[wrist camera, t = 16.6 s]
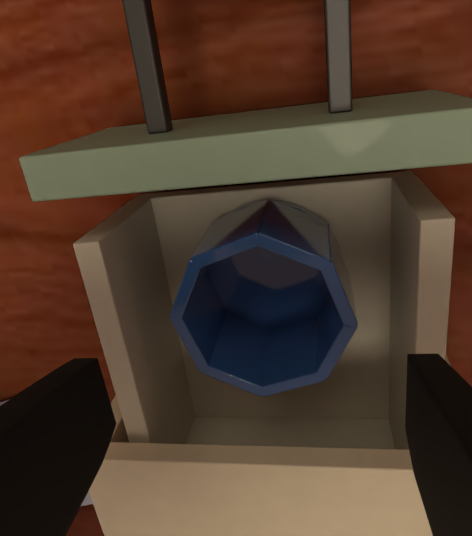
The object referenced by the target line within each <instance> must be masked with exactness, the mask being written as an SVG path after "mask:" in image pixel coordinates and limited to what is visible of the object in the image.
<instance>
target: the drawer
mask: <svg viewBox="0 0 472 536" xmlns="http://www.w3.org/2000/svg"><path fill="white" fill-rule="evenodd" d="M122 2H123V7H124V12H125V17H126V22H127V27H128V33H129V38H130V43H131V48H132V53H133V58H134V63H135V69H136V74H137V79H138V84H139V89H140V94H141V99H142V104H143V110H144V115H145V120H146V124H138V125H129V126H121V127H112V128H108V129H105V130H102V131H99V132H95V133H92V134H89V135H86V136H83V137H80V138H77V139H74V140H71V141H68V142H65V143H62V144H58V145H55V146H52V147H49V148H46V149H43V150H40V151H37V152H34V153H31V154H28V155H24V156H21V157H20V158H19V161H20V164H21V167H22V170H23V173H24V177H25V180H26V183H27V186H28V189H29V193H30V196H31V199H32V201H35V202H37V201H48V200H59V199H71V198H82V197H94V196H105V195H116V194H128V193H139V192H151V191H162V190H173V189H185V188H196V187H208V186H219V185H230V184H242V183H253V182H265V181H276V180H287V179H299V178H310V177H322V176H333V175H344V174H356V173H367V172H379V171H390V170H401V169H413V168H424V167H436V166H447V165H458V164H470V163H472V98H469V97H464V96H460V95H456V94H451V93H447V92H443V91H438V90H434V89H433V90H425V91H416V92H408V93H399V94H391V95H382V96H374V97H366V98H357V99H352V59H351V12H350V0H324V18H325V42H326V66H327V91H328V102H323V103H315V104H306V105H298V106H290V107H281V108H273V109H264V110H256V111H247V112H239V113H230V114H222V115H214V116H205V117H197V118H188V119H180V120H171V115H170V109H169V104H168V98H167V92H166V86H165V81H164V75H163V69H162V63H161V57H160V52H159V46H158V40H157V34H156V29H155V23H154V17H153V11H152V5H151V0H122ZM266 199H269V200H270V199H273V200H282V201H287V202H291V203H294V204H297V205H300V206H302V207H304V208H306V209H308V210H310V211H311V212H313V213H314V214H316V215H317V216H318V217H320V218H321V219H322V220H325V221H327V223H329V224H330V227H331V229H332V232H333V234H334V235H335V237H336V239H337V241H338V243H339V246H340V249H341V252H342V257H343V259H344V262H345V264H346V267H347V269H348V272H349V275H350V281H351V286H352V292H353V298H354V304H355V310H356V316H357V322H358V325H357V326H358V327H357V329H356V331H355V333H354V334H353V336H352V338H351V339H350V341H349V343H348V344H347V346H346V348H345V350H344V351H343V353H342V355H341V356H340V358H339V360H338V361H337V363H336V365H335V367H334V368H333V370H332V372H331V373H330V375H329V377H328V378H327V379H325V381H323V382H319V383H315V384H311V385H307V386H303V387H300V388H296V389H292V390H288V391H284V392H281V393H277V394H273V395H269V396H265V397H263V396H261V397H260V396H258V395H255V394H253V393H250V392H248V391H245V390H243V389H240V388H238V387H235V386H232V385H230V384H227V383H225V382H222V381H220V380H217V379H215V378H212V377H210V376H207V375H205V374H202V373H201V371H199V370H198V368H197V366H196V365H195V363H194V361H193V359H192V358H191V356H190V354H189V352H188V351H187V349H186V347H185V345H184V343H183V342H182V340H181V338H180V336H179V335H178V333H177V331H176V329H175V328H174V326H173V324H172V322H171V321H170V316H169V315H170V312H171V309H172V307H173V304H174V301H175V298H176V295H177V292H178V289H179V286H180V284H181V281H182V278H183V275H184V272H185V269H186V266H187V263H188V261H189V259H190V257H191V256H192V254H193V252H194V251H195V249H196V248H197V246H198V244H199V243H200V241H201V240H202V238H203V237H204V235H205V233H206V232H207V230H208V229H209V227H210V225H211V224H212V223H213V222H214V220H217V219H219V218H222V217H224V216H225V215H227V214H228V213H229V212H231V211H232V210H234V209H236V208H238V207H240V206H242V205H244V204H247V203H250V202H255V201H260V200H266ZM454 231H455V218H454V217H453V216H452V214H451V213H450V212H449V211H448V210H447V209H446V208H445V207H444V206H443V204H442V203H441V202H440V201H439V200H438V199H437V198H436V197H435V196H434V195H433V193H432V192H431V191H430V190H429V189H428V188H427V187H426V186H425V185H424V183H423V182H422V181H421V180H420V179H419V178H418V177H417V176H416V175H415V174H414V173H413V172H412V171H401V172H390V173H378V174H367V175H355V176H344V177H332V178H321V179H309V180H298V181H286V182H275V183H263V184H252V185H240V186H229V187H217V188H206V189H194V190H183V191H171V192H160V193H148V194H139V195H137V196H136V197H135V198H133V199H132V200H130V201H129V202H127V203H126V204H125V205H124V206H122V207H121V208H120V209H118V210H117V211H116V212H114V213H113V214H112V215H110V216H109V217H108V218H106V219H105V220H104V221H102V222H101V223H100V224H98V225H97V226H96V227H94V228H93V229H92V230H90V231H89V232H88V233H86V234H85V235H84V236H83V237H81V238H80V239H79V240H77V241H76V242H75V243H73V247H74V250H75V254H76V257H77V261H78V264H79V268H80V271H81V275H82V278H83V282H84V285H85V289H86V292H87V296H88V299H89V303H90V306H91V310H92V313H93V317H94V320H95V324H96V327H97V331H98V334H99V338H100V341H101V345H102V348H103V352H104V355H105V359H106V362H107V366H108V369H109V373H110V376H111V380H112V383H113V387H114V390H115V394H116V397H117V401H118V404H119V408H120V411H121V415H122V418H123V422H124V425H125V429H126V432H127V436H128V439H129V443H165V444H205V445H245V446H285V447H325V448H365V449H405V450H409V446H408V441H407V436H406V430H405V416H406V384H407V354H439V355H440V356H441V357H442V358H443V359H444V360H445V358H446V344H447V329H448V315H449V301H450V287H451V273H452V259H453V245H454Z"/></svg>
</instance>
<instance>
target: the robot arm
mask: <svg viewBox="0 0 472 536" xmlns="http://www.w3.org/2000/svg"><path fill="white" fill-rule="evenodd" d="M115 426H116V420H115V417H114V413H113V410H112V407H111V403H110V400H109V396H108V393H107V390H106V386H105V383H104V379H103V376H102V373H101V369H100V366H99V362H98V359H97V358H78V359H73V360H71V361H69V362H67V363H66V364H64V365H62V366H60V367H59V368H57V369H56V370H54V371H52V372H51V373H49V374H48V375H46V376H45V377H43V378H42V379H40V380H39V381H37V382H36V383H34V384H32V385H31V386H29V387H28V388H26V389H25V390H23V391H22V392H20V393H19V394H17V395H16V396H14V397H13V398H11V399H9V400H6V401H3V402H0V536H65V535H66V533H67V532H68V530H69V528H70V526H71V524H72V522H73V520H74V518H75V516H76V514H77V512H78V510H79V508H80V506H85V505H89V504H93V502H92V499H91V496H90V493H89V489H90V487H91V485H92V483H93V481H94V479H95V477H96V475H97V473H98V471H99V469H100V467H101V465H102V463H103V460H104V458H105V455H106V452H107V450H108V447H109V444H110V441H111V438H112V435H113V432H114V429H115ZM405 430H406V436H407V441H408V446H409V452H410V457H411V462H412V467H413V472H414V476H415V479H416V483H417V486H418V489H419V492H420V496H421V499H422V502H423V505H424V509H425V512H426V515H427V518H428V522H429V525H430V528H431V531H432V534H433V536H472V387H471V386H470V385H469V384H468V383H467V382H466V381H465V380H464V379H463V378H462V377H461V376H460V375H459V374H458V373H457V372H456V371H455V370H454V369H453V368H452V367H451V366H450V365H449V364H448V363H447V362H446V361H445V360H444V359H443V358H442V357H441V356H440V355H439V354H407V384H406V416H405Z"/></svg>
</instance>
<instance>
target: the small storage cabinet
mask: <svg viewBox="0 0 472 536" xmlns="http://www.w3.org/2000/svg"><path fill="white" fill-rule="evenodd" d="M445 361H446V362H447V363H448V364H449V365H450V366H451V364H450V362H449V360H448V358H447V356H446V358H445ZM111 407H112V410H113V413H114V417H115V420H116V426H115V429H114V432H113V435H112V438H111V441H110V444H109V447H108V450H107V452H106V455H105V458H104V460H103V463H102V465H101V467H100V469H99V471H98V473H97V475H96V477H95V479H94V481H93V483H92V485H91V487H90V489H89V493H90V496H91V499H92V502H93V505H94V508H95V510H96V513H97V516H98V519H99V522H100V525H101V527H102V530H103V533H104V536H433V534H432V531H431V528H430V525H429V522H428V518H427V515H426V512H425V509H424V505H423V502H422V499H421V496H420V492H419V489H418V486H417V483H416V479H415V476H414V472H413V467H412V462H411V457H410V452H409V450H405V449H365V448H325V447H285V446H245V445H205V444H165V443H129V439H128V436H127V432H126V429H125V425H124V422H123V418H122V415H121V411H120V408H119V404H118V401H117V397H116V395H115V397H114V399H113V400H112V402H111Z"/></svg>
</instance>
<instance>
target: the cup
mask: <svg viewBox="0 0 472 536" xmlns="http://www.w3.org/2000/svg"><path fill="white" fill-rule="evenodd" d="M169 316H170V321H171V322H172V324H173V326H174V328H175V329H176V331H177V333H178V335H179V336H180V338H181V340H182V342H183V343H184V345H185V347H186V349H187V351H188V352H189V354H190V356H191V358H192V359H193V361H194V363H195V365H196V366H197V368H198V370H199V371H201V373H202V374H205V375H207V376H210V377H212V378H215V379H217V380H220V381H222V382H225V383H227V384H230V385H232V386H235V387H238V388H240V389H243V390H245V391H248V392H250V393H253V394H255V395H258V396H260V397H261V396H263V397H265V396H269V395H273V394H277V393H281V392H284V391H288V390H292V389H296V388H300V387H303V386H307V385H311V384H315V383H319V382H323V381H325V379H327V378H328V377H329V375H330V373H331V372H332V370H333V368H334V367H335V365H336V363H337V361H338V360H339V358H340V356H341V355H342V353H343V351H344V350H345V348H346V346H347V344H348V343H349V341H350V339H351V338H352V336H353V334H354V333H355V331H356V329H357V327H358V326H357V325H358V322H357V316H356V310H355V304H354V298H353V292H352V286H351V281H350V275H349V272H348V269H347V267H346V264H345V262H344V259H343V257H342V252H341V249H340V246H339V243H338V241H337V239H336V237H335V235H334V234H333V232H332V229H331V227H330V224H329V223H327V221H325V220H322V219H321V218H320V217H318V216H317V215H316V214H314V213H313V212H311V211H310V210H308V209H306V208H304V207H302V206H300V205H297V204H294V203H291V202H287V201H282V200H273V199H270V200H269V199H266V200H260V201H255V202H250V203H247V204H244V205H242V206H240V207H238V208H236V209H234V210H232V211H231V212H229V213H228V214H227V215H225V216H224V217H222V218H219V219H217V220H214V222H213V223H212V224H211V225H210V227H209V229H208V230H207V232H206V233H205V235H204V237H203V238H202V240H201V241H200V243H199V244H198V246H197V248H196V249H195V251H194V252H193V254H192V256H191V257H190V259H189V261H188V263H187V266H186V269H185V272H184V275H183V278H182V281H181V284H180V286H179V289H178V292H177V295H176V298H175V301H174V304H173V307H172V309H171V312H170V315H169Z"/></svg>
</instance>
